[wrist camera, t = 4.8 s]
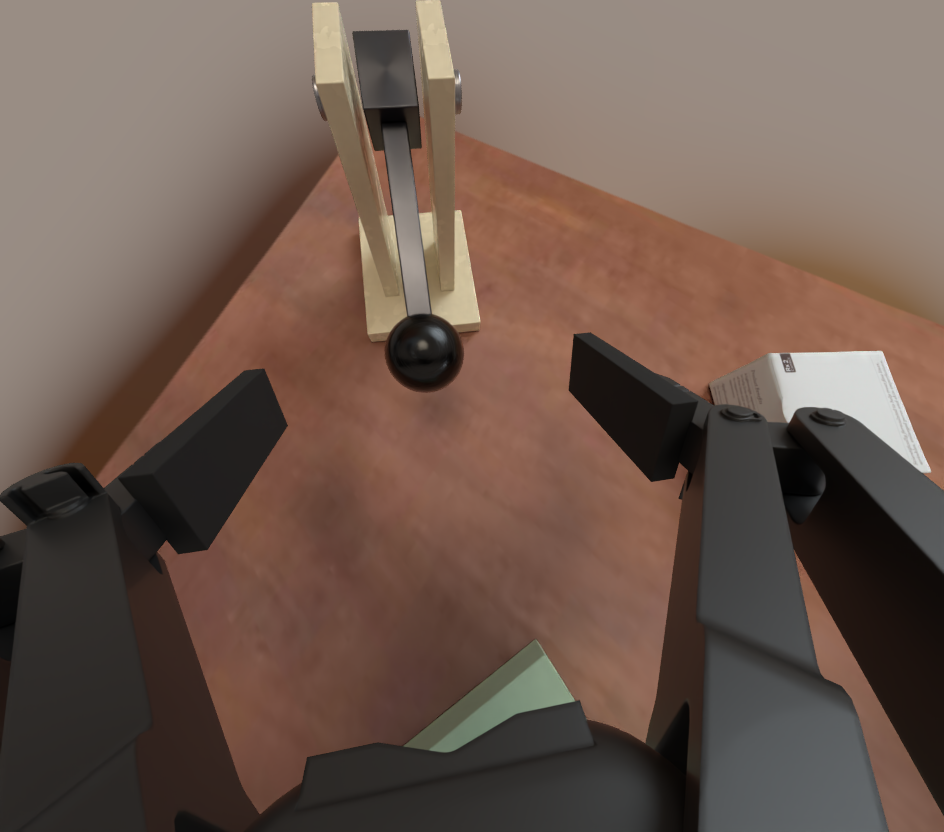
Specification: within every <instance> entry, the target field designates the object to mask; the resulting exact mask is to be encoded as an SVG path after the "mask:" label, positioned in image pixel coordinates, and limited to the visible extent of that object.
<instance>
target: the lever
mask: <svg viewBox="0 0 944 832" xmlns="http://www.w3.org/2000/svg"><path fill="white" fill-rule="evenodd" d="M352 34H353V40H354V48H355V55H356V62H357V69H358V76H359V83H360V90H361V97H362V104H363V110H364V113H365V117H366V121H367V125H368V128H369V132H370V136H371V139H372V143H373V147H374V150H375V151H382V150H384V152H385V160H386V167H387V174H388V181H389V189H390V196H391V203H392V210H393V218H394V225H395V232H396V239H397V247H398V254H399V261H400V268H401V275H402V283H403V290H404V297H405V304H406V312H407V317H405V318H403V319H402V320H400V321H399V322H398V323H397V324H396V325H395V326H394V327H393V328H392V330H391V331H390V333H389V335H388V337H387V340H386V345H385V359H386V363H387V366H388V369H389V371H390V373H391V374H392V375H393V377H394V378H395V379H396V380H397V381H398V382H399V383H400V384H401V385H403V386H404V387H406V388H408V389H410V390H413V391H416V392H423V393H428V392H435V391H438V390H441V389H443V388H445V387H446V386H448V385H449V384H450V383H451V382H453V380H454V379H455V378H456V377H457V375H458V374H459V372H460V370H461V367H462V364H463V360H464V348H463V343H462V340H461V338H460V335H459V333H458V332H457V330H456V329H455V328H454V327H453V325H451V324H450V323H449V322H448V321H447V320H445V319H444V318H442V317H440V316H437V315H434V314H432V310H431V303H430V295H429V287H428V280H427V272H426V264H425V257H424V249H423V242H422V234H421V226H420V219H419V211H418V203H417V196H416V188H415V180H414V173H413V165H412V157H411V150H410V149H416V148H421V147H422V145H421V130H420V116H419V104H418V96H417V88H416V80H415V72H414V65H413V56H412V48H411V41H410V33H409V30H386V31H353V33H352Z"/></svg>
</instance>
